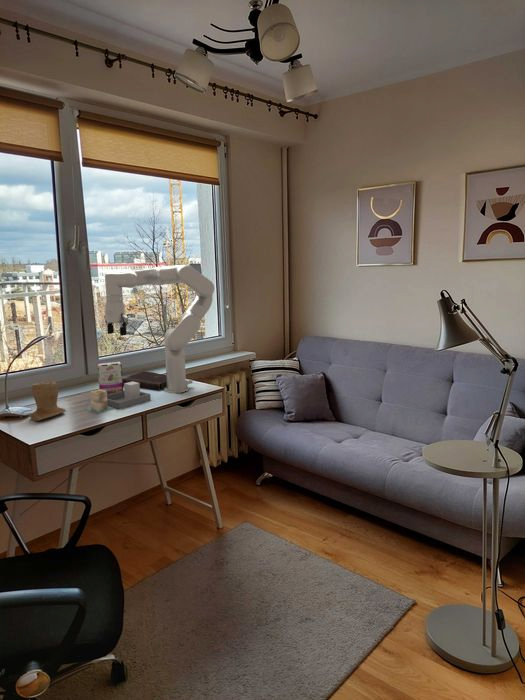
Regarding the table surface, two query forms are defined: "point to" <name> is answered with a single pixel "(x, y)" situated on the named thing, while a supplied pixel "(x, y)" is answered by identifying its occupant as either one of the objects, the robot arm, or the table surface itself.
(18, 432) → the table surface
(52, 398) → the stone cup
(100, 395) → the labelled block
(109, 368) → the candy bar box
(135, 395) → the grey block
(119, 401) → the parts bin
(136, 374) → the diary
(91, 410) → the mat
